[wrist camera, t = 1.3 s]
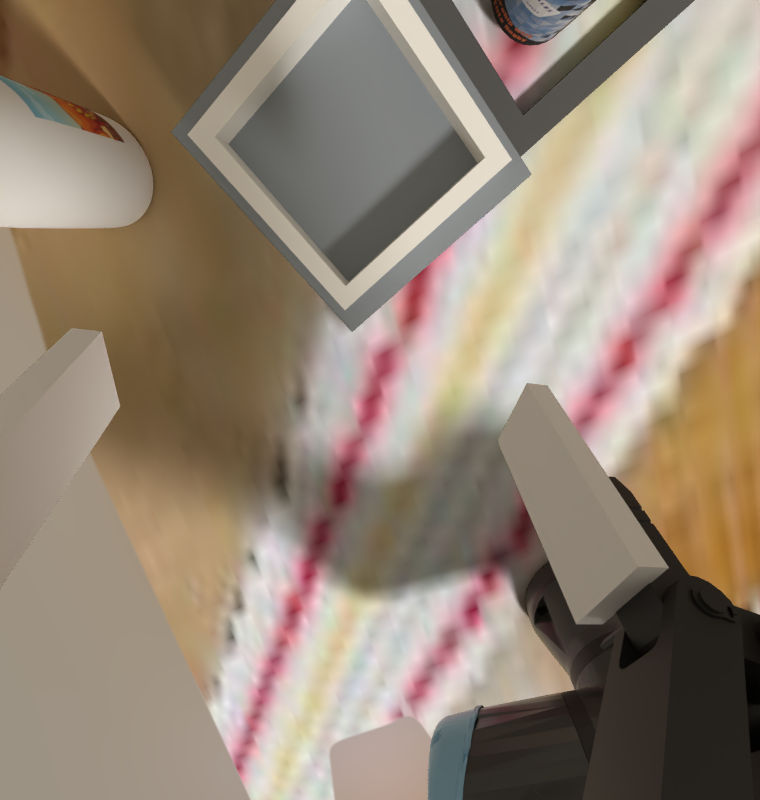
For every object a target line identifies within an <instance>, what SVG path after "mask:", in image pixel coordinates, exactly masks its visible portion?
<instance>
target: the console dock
mask: <svg viewBox="0 0 760 800" xmlns="http://www.w3.org/2000/svg"><path fill="white" fill-rule="evenodd" d="M171 133H172V134H173V135H174V136H175V137H176V138H177V139H178V141H179V142H180V143H181V144H182V145H183V146H184V147H185V148H186V149H187V150H188V152H189V153H190V154H191V155H192V156H193V157H194V158H195V159H196V160H197V162H198V163H199V164H200V165H201V166H202V167H203V168H204V169H205V170H206V171H207V173H208V174H209V175H210V176H211V177H212V178H213V179H214V180H215V181H216V182H217V184H218V185H219V186H220V187H221V188H222V189H223V190H224V191H225V192H226V193H227V195H228V196H229V197H230V198H231V199H232V200H233V201H234V202H235V203H236V205H237V206H238V207H239V208H240V209H241V210H242V211H243V212H244V213H245V214H246V216H247V217H248V218H249V219H250V220H251V221H252V222H253V223H254V224H255V225H256V227H257V228H258V229H259V230H260V231H261V232H262V233H263V234H264V235H265V236H266V238H267V239H268V240H269V241H270V242H271V243H272V244H273V245H274V246H275V247H276V249H277V250H278V251H279V252H280V253H281V254H282V255H283V256H284V257H285V259H286V260H287V261H288V262H289V263H290V264H291V265H292V266H293V267H294V268H295V270H296V271H297V272H298V273H299V274H300V275H301V276H302V277H303V278H304V279H305V281H306V282H307V283H308V284H309V285H310V286H311V287H312V288H313V289H314V290H315V292H316V293H317V294H318V295H319V296H320V297H321V298H322V299H323V300H324V301H325V303H326V304H327V305H328V306H329V307H330V308H331V309H332V310H333V311H334V313H335V314H336V315H337V316H338V317H339V318H340V319H341V320H342V321H343V322H344V324H345V325H346V326H347V327H348V328H349V329H350V330H351V331H352V332H353V331H354V330H355V329H356V328H357V327H358V326H359V325H360V324H362V323H363V322H364V321H365V320H366V319H367V318H368V317H370V316H371V315H372V314H373V313H374V312H375V311H376V310H378V309H379V308H380V307H381V306H382V305H383V304H384V303H386V302H387V301H388V300H389V299H390V298H391V297H392V296H394V295H395V294H396V293H397V292H398V291H399V290H400V289H402V288H403V287H404V286H405V285H406V284H407V283H408V282H409V281H411V280H412V279H413V278H414V277H415V276H416V275H417V274H419V273H420V272H421V271H422V270H423V269H424V268H425V267H427V266H428V265H429V264H430V263H431V262H432V261H433V260H435V259H436V258H437V257H438V256H439V255H440V254H441V253H443V252H444V251H445V250H446V249H447V248H448V247H449V246H451V245H452V244H453V243H454V242H455V241H456V240H457V239H459V238H460V237H461V236H462V235H463V234H464V233H465V232H466V231H468V230H469V229H470V228H471V227H472V226H473V225H474V224H476V223H477V222H478V221H479V220H480V219H481V218H482V217H484V216H485V215H486V214H487V213H488V212H489V211H490V210H492V209H493V208H494V207H495V206H496V205H497V204H498V203H500V202H501V201H502V200H503V199H504V198H505V197H506V196H508V195H509V194H510V193H511V192H512V191H513V190H514V189H516V188H517V187H518V186H519V185H520V184H521V183H522V182H523V181H525V180H526V179H527V178H528V177H529V176H530V175H531V173H530V171H529V170H528V168H527V166H526V165H525V163H524V162H523V160H522V159H521V157H520V156H519V154H518V152H517V151H516V149H515V148H514V146H513V145H512V143H511V142H510V140H509V139H508V137H507V135H506V134H505V132H504V131H503V129H502V128H501V126H500V125H499V123H498V121H497V120H496V118H495V117H494V115H493V114H492V112H491V111H490V109H489V108H488V106H487V104H486V103H485V101H484V100H483V98H482V97H481V95H480V94H479V92H478V90H477V89H476V87H475V86H474V84H473V83H472V81H471V80H470V78H469V77H468V75H467V73H466V72H465V70H464V69H463V67H462V66H461V64H460V63H459V61H458V59H457V58H456V56H455V55H454V53H453V52H452V50H451V49H450V47H449V46H448V44H447V42H446V41H445V39H444V38H443V36H442V35H441V33H440V32H439V30H438V28H437V27H436V25H435V24H434V22H433V21H432V19H431V18H430V16H429V14H428V13H427V11H426V10H425V8H424V7H423V5H422V4H421V2H420V1H419V0H276V1H275V2H274V4H273V5H272V6H271V7H270V9H269V10H268V11H267V12H266V14H265V15H264V16H263V17H262V19H261V20H260V21H259V22H258V24H257V25H256V26H255V27H254V29H253V30H252V31H251V32H250V34H249V35H248V36H247V38H246V39H245V40H244V41H243V43H242V44H241V45H240V46H239V48H238V49H237V50H236V51H235V53H234V54H233V55H232V56H231V58H230V59H229V60H228V61H227V63H226V64H225V65H224V66H223V68H222V69H221V70H220V71H219V73H218V74H217V75H216V76H215V78H214V79H213V80H212V81H211V83H210V84H209V85H208V86H207V88H206V89H205V90H204V92H203V93H202V94H201V95H200V97H199V98H198V99H197V100H196V102H195V103H194V104H193V105H192V107H191V108H190V109H189V110H188V112H187V113H186V114H185V115H184V117H183V118H182V119H181V120H180V122H179V123H178V124H177V125H176V127H175V128H174V129H173V130H172V132H171Z"/></svg>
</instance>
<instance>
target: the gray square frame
mask: <svg viewBox="0 0 760 800" xmlns="http://www.w3.org/2000/svg"><path fill="white" fill-rule="evenodd" d="M419 1H420V2H421V4H422V5H423V7H424V8H425V10H426V11H427V13H428V14H429V16H430V18H431V19H432V21H433V22H434V24H435V25H436V27H437V28H438V30H439V32H440V33H441V35H442V36H443V38H444V39H445V41H446V42H447V44H448V46H449V47H450V49H451V50H452V52H453V53H454V55H455V56H456V58H457V59H458V61H459V63H460V64H461V66H462V67H463V69H464V70H465V72H466V73H467V75H468V77H469V78H470V80H471V81H472V83H473V84H474V86H475V87H476V89H477V90H478V92H479V94H480V95H481V97H482V98H483V100H484V101H485V103H486V104H487V106H488V108H489V109H490V111H491V112H492V114H493V115H494V117H495V118H496V120H497V121H498V123H499V125H500V126H501V128H502V129H503V131H504V132H505V134H506V135H507V137H508V139H509V140H510V142H511V143H512V145H513V146H514V148H515V149H516V151H517V152H518V154H519V156H520V157H521V156H522V155H523V154H524V153H525V152H526V151H527V150H529V149H530V148H531V147H532V146H533V145H534V144H535V143H536V142H537V141H539V140H540V139H541V138H542V137H543V136H544V135H545V134H546V133H548V132H549V131H550V130H551V129H552V128H553V127H554V126H555V125H556V124H558V123H559V122H560V121H561V120H562V119H563V118H564V117H565V116H566V115H568V114H569V113H570V112H571V111H572V110H573V109H574V108H575V107H576V106H578V105H579V104H580V103H581V102H582V101H583V100H584V99H585V98H586V97H588V96H589V95H590V94H591V93H592V92H593V91H594V90H595V89H596V88H598V87H599V86H600V85H601V84H602V83H603V82H604V81H605V80H607V79H608V78H609V77H610V76H611V75H612V74H613V73H614V72H615V71H617V70H618V69H619V68H620V67H621V66H622V65H623V64H624V63H625V62H627V61H628V60H629V59H630V58H631V57H632V56H633V55H634V54H635V53H637V52H638V51H639V50H640V49H641V48H642V47H643V46H644V45H645V44H647V43H648V42H649V41H650V40H651V39H652V38H653V37H654V36H655V35H657V34H658V33H659V32H660V31H661V30H662V29H663V28H664V27H666V26H667V25H668V24H669V23H670V22H671V21H672V20H673V19H674V18H676V17H677V16H678V15H679V14H680V13H681V12H682V11H683V10H684V9H686V8H687V7H688V6H689V5H690V4H691V3H692V2H693V1H694V0H645V1H646V2H645V3H644V4H643V5H641V6H640V7H639V8H638V9H637V10H636V11H635V12H634V13H633V14H632V15H631V16H630V17H629V18H627V19H626V20H625V21H624V22H623V23H622V24H621V25H620V26H619V27H618V28H617V29H616V30H615V31H613V32H612V33H611V34H610V35H609V36H608V37H607V38H606V39H605V40H604V41H603V42H602V43H601V44H599V45H598V46H597V47H596V48H595V49H594V50H593V51H592V52H591V53H590V54H589V55H588V56H587V57H585V58H584V59H583V60H582V61H581V62H580V63H579V64H578V65H577V66H576V67H575V68H574V69H573V70H571V71H570V72H569V73H568V74H567V75H566V76H565V77H564V78H563V79H562V80H561V81H560V82H559V83H557V84H556V85H555V86H554V87H553V88H552V89H551V90H550V91H549V92H548V93H547V94H546V95H545V96H543V97H542V98H541V99H540V100H539V101H538V102H537V103H536V104H535V105H534V106H533V107H532V108H531V109H529V110H528V111H527V112H526V113H525V114H524V115H523V114H522V112H521V111H520V109H519V108H518V106H517V104H516V103H515V101H514V100H513V98H512V96H511V95H510V93H509V92H508V90H507V88H506V87H505V85H504V83H503V82H502V80H501V79H500V77H499V75H498V74H497V72H496V71H495V69H494V67H493V66H492V64H491V63H490V61H489V59H488V58H487V56H486V55H485V53H484V51H483V50H482V48H481V46H480V45H479V43H478V42H477V40H476V38H475V37H474V35H473V34H472V32H471V30H470V29H469V27H468V26H467V24H466V22H465V21H464V19H463V18H462V16H461V14H460V13H459V11H458V9H457V8H456V6H455V5H454V3H453V1H452V0H419Z"/></svg>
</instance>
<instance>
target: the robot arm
mask: <svg viewBox="0 0 760 800" xmlns="http://www.w3.org/2000/svg"><path fill="white" fill-rule="evenodd" d="M119 408H120V403H119V399H118V395H117V391H116V387H115V383H114V379H113V375H112V371H111V367H110V363H109V358H108V354H107V350H106V346H105V342H104V338H103V334H102V331H94V330H85V329H77V328H71V329H70V330H69V331H68V332H67V333H66V334H65V335H64V336H62V337H61V338H60V339H59V340H58V341H57V342H56V343H55V344H54V345H53V346H52V347H51V348H50V349H49V350H48V351H47V352H46V353H45V354H44V355H42V356H41V357H40V358H39V359H38V360H37V361H36V362H35V363H34V364H33V365H32V366H31V367H30V368H29V369H28V370H27V371H26V372H25V373H24V374H22V375H21V376H20V377H19V378H18V379H17V380H16V381H15V382H14V383H13V384H12V385H11V386H10V387H9V388H8V389H7V390H6V391H5V392H4V393H3V394H2V395H0V589H1V587H2V586H3V584H4V583H5V581H6V580H7V578H8V576H9V575H10V574H11V572H12V571H13V569H14V567H15V566H16V564H17V563H18V561H19V560H20V558H21V557H22V555H23V554H24V552H25V550H26V549H27V548H28V546H29V545H30V543H31V541H32V540H33V538H34V537H35V535H36V534H37V532H38V531H39V529H40V528H41V526H42V525H43V523H44V522H45V520H46V519H47V517H48V516H49V514H50V513H51V511H52V509H53V508H54V507H55V505H56V504H57V502H58V501H59V499H60V497H61V496H62V494H63V493H64V491H65V490H66V488H67V487H68V485H69V483H70V482H71V481H72V479H73V478H74V476H75V475H76V473H77V472H78V470H79V469H80V467H81V466H82V464H83V462H84V461H85V459H86V458H87V456H88V455H89V453H90V452H91V450H92V449H93V447H94V446H95V444H96V443H97V441H98V440H99V438H100V437H101V435H102V434H103V432H104V430H105V429H106V427H107V426H108V424H109V423H110V421H111V420H112V418H113V417H114V415H115V414H116V412H117V411H118V409H119ZM497 442H498V444H499V446H500V449H501V451H502V453H503V455H504V458H505V460H506V462H507V465H508V467H509V469H510V472H511V474H512V476H513V479H514V481H515V483H516V486H517V488H518V490H519V493H520V495H521V497H522V500H523V502H524V504H525V507H526V509H527V511H528V514H529V516H530V518H531V520H532V523H533V525H534V527H535V530H536V532H537V534H538V537H539V539H540V541H541V544H542V546H543V548H544V551H545V553H546V555H547V558H548V560H549V563H547V564H546V565H545V566H544V567H543V568H542V569H541V570H540V571H539V572H538V573H537V574H536V575H535V576H534V578H533V579H532V581H531V583H530V585H529V587H528V589H527V593H526V599H525V604H526V609H527V612H528V615H529V618H530V621H531V623H532V626H533V628H534V630H535V632H536V634H537V635H538V637H539V638H540V639H541V641H542V642H543V643H544V644H545V646H546V647H547V648H548V650H549V651H550V652H551V653H552V655H553V656H554V657H555V659H556V660H557V661H558V662H559V664H560V665H561V666H562V667H563V669H564V670H565V671H566V673H567V674H568V675H569V677H570V679H571V681H572V684H573V686H574V689H575V690H573V691H567V692H562V693H556V694H551V695H545V696H540V697H535V698H530V699H525V700H520V701H515V702H510V703H505V704H500V705H495V706H489V707H483V706H482V705H478V706H476V707H475V708H474V709H472V710H469V711H465V712H461V713H457V714H453V715H450V716H447V717H445V718H444V719H442V720H441V721H440V722H439V724H438V725H437V727H436V729H435V731H434V733H433V737H432V741H431V746H430V753H429V765H428V800H760V615H759V614H756V613H753V612H750V611H747V610H744V609H742V608H739V607H736V606H733V604H732V602H731V601H730V600H729V599H728V598H727V597H726V596H725V595H724V594H723V593H722V592H721V591H720V590H719V589H717V588H716V587H715V586H713V585H712V584H711V583H709V582H707V581H705V580H703V579H701V578H699V577H695V576H690V575H689V574H688V573H687V571H686V570H685V569H684V567H683V566H682V564H681V563H680V562H679V560H678V559H677V557H676V556H675V554H674V553H673V551H672V550H671V549H670V547H669V546H668V544H667V543H666V541H665V540H664V539H663V537H662V536H661V534H660V533H659V531H658V530H657V529H656V527H655V526H654V524H651V522H650V521H651V520H650V519H649V517H648V516H647V514H646V513H645V511H642V509H641V508H642V507H641V506H640V504H639V503H638V501H637V500H636V498H635V497H634V496H633V494H632V493H631V491H630V490H628V489H627V488H626V487H625V486H624V485H623V484H622V483H621V482H620V481H619V480H617V479H616V478H615V477H608V476H607V474H606V473H605V471H604V470H603V468H602V467H601V465H600V464H599V462H598V461H597V459H596V458H595V456H594V455H593V453H592V452H591V450H590V449H589V447H588V446H587V444H586V443H585V441H584V440H583V438H582V437H581V435H580V434H579V432H578V431H577V429H576V428H575V426H574V425H573V423H572V422H571V420H570V419H569V417H568V416H567V414H566V413H565V411H564V410H563V408H562V407H561V405H560V404H559V402H558V401H557V399H556V398H555V396H554V395H553V393H552V392H551V390H550V389H549V387H548V386H546V385H538V384H530V383H527V384H526V386H525V388H524V390H523V392H522V394H521V396H520V398H519V400H518V402H517V404H516V406H515V408H514V410H513V411H512V413H511V415H510V417H509V419H508V421H507V423H506V425H505V427H504V429H503V431H502V433H501V435H500V437H499V439H498V441H497Z"/></svg>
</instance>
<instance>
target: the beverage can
mask: <svg viewBox="0 0 760 800" xmlns="http://www.w3.org/2000/svg"><path fill="white" fill-rule="evenodd" d="M595 1H596V0H491V3H492V8H493V12H494V15H495V18H496V20H497V22H498V24H499V26H500V27H501V28H502V30H503V31H504V32H505V33H506V34H507V35H508V36H509V37H510V38H511V39H513V40H514V41H516V42H518V43H521V44H524V45H539V44H542V43H545V42H547V41H549V40H550V39H552V38H554V37H555V36H556V35H557V34H558V33H559V32H561V31H562V30H563V29H564V28H565V27H566V26H567V25H569V24H570V23H571V22H572V21H573V20H574V19H575V18H577V17H578V16H579V15H580V14H581V13H582V12H583V11H585V10H586V9H587V8H588V7H589V6H590V5H591V4H593V3H594V2H595Z"/></svg>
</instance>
